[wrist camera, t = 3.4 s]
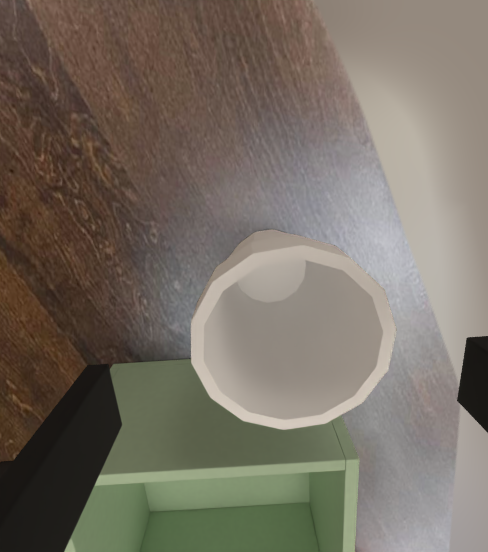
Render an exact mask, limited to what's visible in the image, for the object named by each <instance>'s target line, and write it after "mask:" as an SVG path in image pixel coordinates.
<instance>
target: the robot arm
mask: <svg viewBox="0 0 488 552" xmlns="http://www.w3.org/2000/svg"><path fill="white" fill-rule="evenodd" d="M457 401H458V402H459V403H460V404H461V405H462V406H463V407H464V408H465V409H466V410H467V411H468V412H469V413H470V415H471V416H472V417H473V418H474V419H475V420H476V421H477V422H478V423H479V424H480V425H481V426H482V427H483V428H484V429H485V430H486V431H487V432H488V336H482V337H469V338H467V340H466V347H465V353H464V360H463V366H462V373H461V379H460V386H459V392H458V399H457ZM121 427H122V421H121V417H120V412H119V408H118V404H117V399H116V395H115V391H114V386H113V382H112V378H111V373H110V369H109V365H108V364H100V365H87V367H86V368H85V369H84V371H83V372H82V373H81V374H80V376H79V377H78V378H77V380H76V381H75V382H74V383H73V385H72V386H71V387H70V389H69V390H68V391H67V392H66V394H65V395H64V396H63V398H62V399H61V400H60V401H59V403H58V404H57V405H56V407H55V408H54V409H53V410H52V412H51V413H50V414H49V416H48V417H47V418H46V419H45V421H44V422H43V423H42V425H41V426H40V427H39V428H38V430H37V431H36V432H35V434H34V435H33V436H32V437H31V439H30V440H29V441H28V443H27V444H26V445H25V446H24V448H23V449H22V450H21V452H20V453H19V454H18V456H17V457H16V458H15V459H14V461H4V462H0V552H64V551H65V549H66V547H67V545H68V543H69V540H70V538H71V536H72V534H73V532H74V530H75V527H76V525H77V523H78V521H79V519H80V516H81V514H82V512H83V510H84V508H85V505H86V503H87V501H88V499H89V497H90V494H91V492H92V490H93V488H94V486H95V484H96V481H97V479H98V477H99V475H100V473H101V470H102V468H103V466H104V464H105V462H106V459H107V457H108V455H109V453H110V451H111V449H112V446H113V444H114V442H115V440H116V438H117V435H118V433H119V431H120V429H121Z"/></svg>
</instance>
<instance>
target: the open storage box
mask: <svg viewBox="0 0 488 552" xmlns="http://www.w3.org/2000/svg"><path fill="white" fill-rule="evenodd" d="M110 373H111V378H112V382H113V386H114V391H115V395H116V399H117V404H118V408H119V412H120V417H121V421H122V427H121V429H120V431H119V433H118V435H117V438H116V440H115V442H114V444H113V446H112V449H111V451H110V453H109V455H108V457H107V459H106V462H105V464H104V466H103V468H102V470H101V473H100V475H99V477H98V479H97V481H96V484H95V486H94V488H93V490H92V492H91V494H90V497H89V499H88V501H87V503H86V505H85V508H84V510H83V512H82V514H81V516H80V519H79V521H78V523H77V525H76V527H75V530H74V532H73V534H72V536H71V538H70V540H69V543H68V545H67V547H66V549H65V551H64V552H355V535H356V515H357V496H358V476H359V457H358V455H357V452H356V450H355V447H354V445H353V443H352V440H351V438H350V435H349V433H348V430H347V428H346V425H345V423H344V421H343V418H342V416H341V415H340V416H338V417H337V418H335V419H333V420H331V421H329V422H328V423H326V424H320V425H313V426H307V427H300V428H293V429H287V430H282V429H277V428H273V427H268V426H263V425H259V424H254V423H250V422H245V421H242V420H241V419H240V418H238V417H237V416H235V415H234V414H233V413H231V412H230V411H228V410H227V409H225V408H224V407H223V406H221V405H220V404H218V403H217V402H216V401H214V400H213V399H211V398H210V396H209V395H208V393H207V391H206V389H205V387H204V385H203V384H202V382H201V380H200V378H199V376H198V374H197V373H196V371H195V369H194V367H193V365H192V364H191V359H182V360H167V361H152V362H137V363H122V364H113V366H112V367H111V369H110Z"/></svg>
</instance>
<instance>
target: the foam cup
mask: <svg viewBox="0 0 488 552" xmlns="http://www.w3.org/2000/svg"><path fill="white" fill-rule="evenodd" d="M396 331H397V329H396V325H395V322H394V319H393V316H392V313H391V309H390V306H389V303H388V300H387V296H386V293H385V290H384V288H382V287H381V286H380V285H379V284H378V283H377V282H376V281H375V280H374V279H373V278H372V277H371V276H370V275H369V274H367V273H366V272H365V271H364V270H363V269H362V268H361V267H360V266H359V265H358V264H357V263H356V262H355V261H354V260H352V259H351V258H350V257H349V256H348V255H346V254H345V253H344V252H343V251H341V250H340V249H339V248H338V247H336V246H334V245H331V244H327V243H324V242H320V241H317V240H313V239H309V238H306V237H302V236H299V235H295V234H293V235H291V234H288V233H285V232H281V231H277V230H274V229H270V230H264V231H258V232H254V233H253V234H251V235H250V236H249V237H247V238H246V239H244V240H243V241H242V242H240V243H239V245H238V246H237V247H236V248H235V250H234V251H233V252H232V254H231V255H230V256H229V257H228V259H226V260H225V261H224V262H222V263H221V264H219V265H218V266H217V267H216V268H215V270H214V272H213V274H212V276H211V278H210V279H209V281H208V283H207V285H206V287H205V289H204V291H203V292H202V294H201V296H200V298H199V300H198V302H197V305H196V308H195V311H194V314H193V317H192V320H191V364H192V365H193V367H194V369H195V371H196V373H197V374H198V376H199V378H200V380H201V382H202V384H203V385H204V387H205V389H206V391H207V393H208V395H209V396H210V398H211V399H213V400H214V401H216V402H217V403H218V404H220V405H221V406H223V407H224V408H225V409H227V410H228V411H230V412H231V413H233V414H234V415H235V416H237V417H238V418H240V419H241V420H242V421H245V422H250V423H254V424H259V425H263V426H268V427H273V428H277V429H282V430H287V429H293V428H300V427H307V426H313V425H320V424H326V423H328V422H329V421H331V420H333V419H335V418H337V417H338V416H340V415H342V414H344V413H345V412H347V411H349V410H351V409H353V408H354V407H356V406H358V405H360V404H361V403H363V402H364V400H365V399H366V398H367V396H368V395H369V394H370V393H371V391H372V390H373V389H374V388H375V386H376V385H377V384H378V382H379V381H380V380H381V379H382V377H383V376H384V375H385V373H386V372H387V371H388V369H389V364H390V359H391V354H392V350H393V345H394V340H395V336H396Z"/></svg>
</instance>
